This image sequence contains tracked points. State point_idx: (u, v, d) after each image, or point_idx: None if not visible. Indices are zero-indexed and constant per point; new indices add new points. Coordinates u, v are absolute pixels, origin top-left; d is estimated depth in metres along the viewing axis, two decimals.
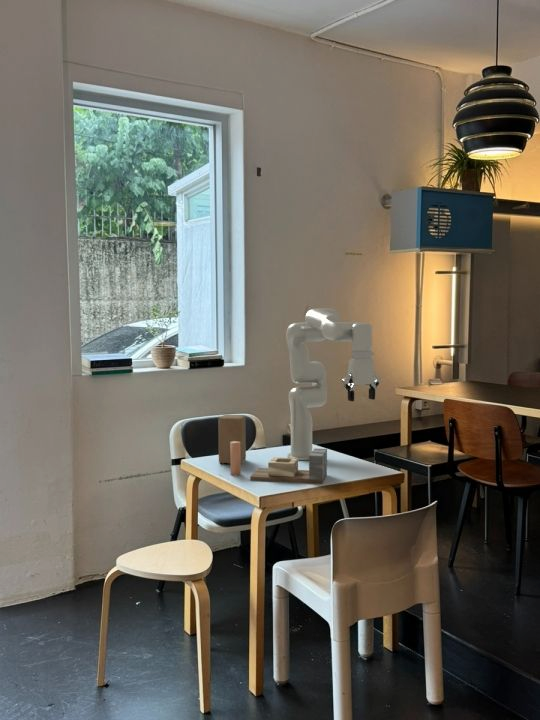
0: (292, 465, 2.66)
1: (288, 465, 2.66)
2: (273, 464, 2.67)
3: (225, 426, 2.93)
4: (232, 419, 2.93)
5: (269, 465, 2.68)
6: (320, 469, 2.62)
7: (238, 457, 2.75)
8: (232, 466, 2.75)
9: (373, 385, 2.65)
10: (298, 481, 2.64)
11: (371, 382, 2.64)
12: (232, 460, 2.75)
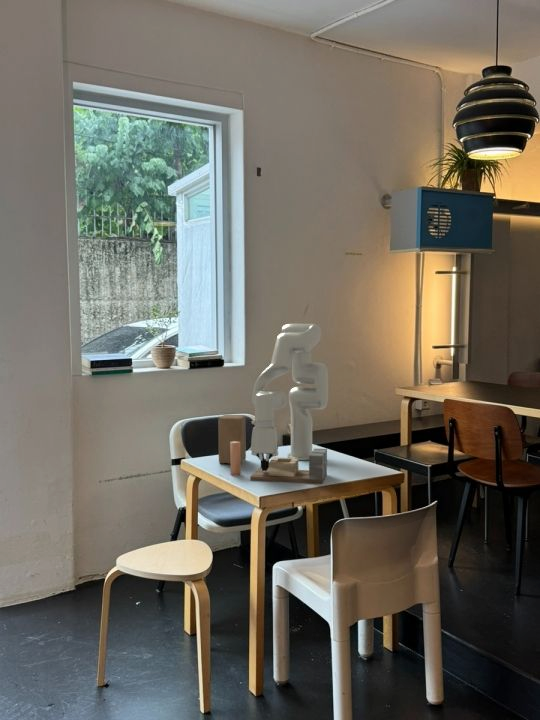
0: (292, 465, 2.66)
1: (288, 465, 2.66)
2: (273, 464, 2.67)
3: (225, 426, 2.93)
4: (232, 419, 2.93)
5: (269, 465, 2.68)
6: (320, 469, 2.62)
7: (238, 457, 2.75)
8: (232, 466, 2.75)
9: None
10: (298, 481, 2.64)
11: None
12: (232, 460, 2.75)
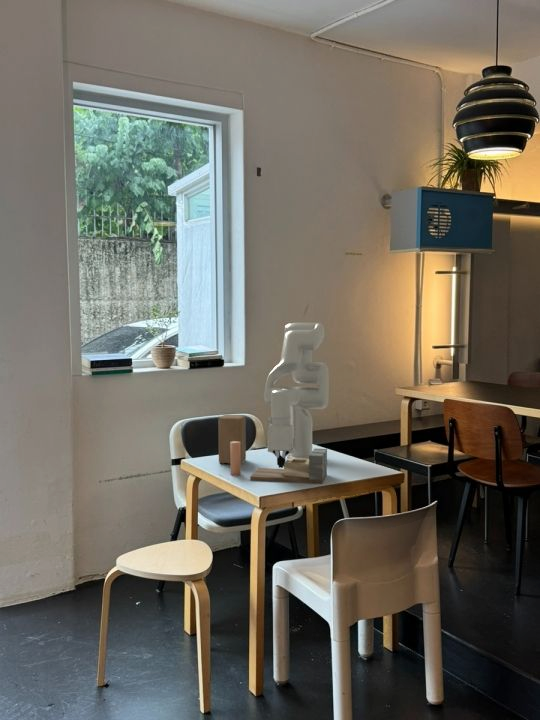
0: (308, 466, 2.65)
1: (304, 466, 2.65)
2: (289, 465, 2.66)
3: (225, 426, 2.93)
4: (232, 419, 2.93)
5: (285, 466, 2.66)
6: (320, 469, 2.62)
7: (238, 457, 2.75)
8: (232, 466, 2.75)
9: (278, 451, 2.74)
10: (298, 481, 2.64)
11: None
12: (232, 460, 2.75)
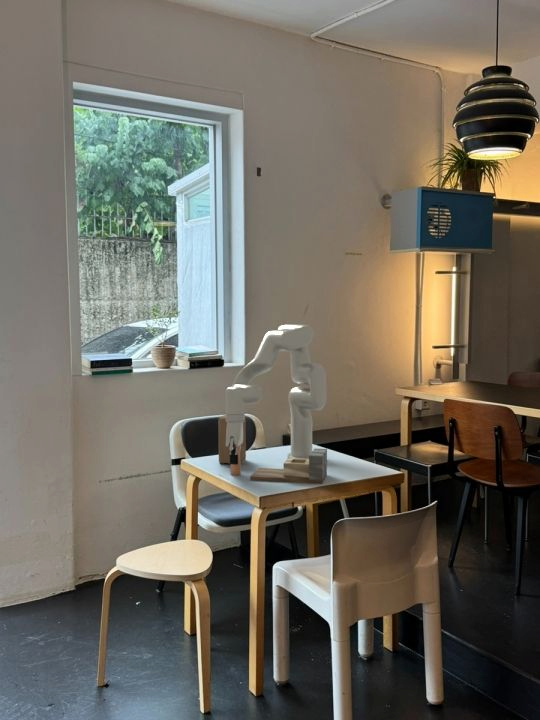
0: (307, 466, 2.65)
1: (303, 466, 2.65)
2: (288, 465, 2.66)
3: (225, 426, 2.93)
4: None
5: (284, 466, 2.67)
6: (320, 469, 2.62)
7: (238, 457, 2.75)
8: (232, 466, 2.75)
9: (240, 447, 2.79)
10: (298, 481, 2.64)
11: (242, 441, 2.79)
12: None
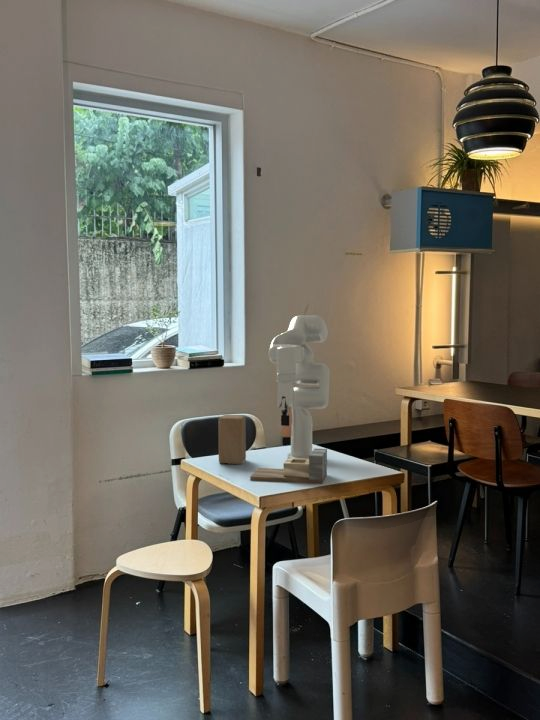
0: (307, 466, 2.65)
1: (303, 466, 2.65)
2: (288, 465, 2.66)
3: (225, 426, 2.93)
4: (232, 419, 2.93)
5: (284, 466, 2.67)
6: (320, 469, 2.62)
7: (289, 418, 2.69)
8: (283, 427, 2.69)
9: None
10: (298, 481, 2.64)
11: (293, 403, 2.72)
12: None
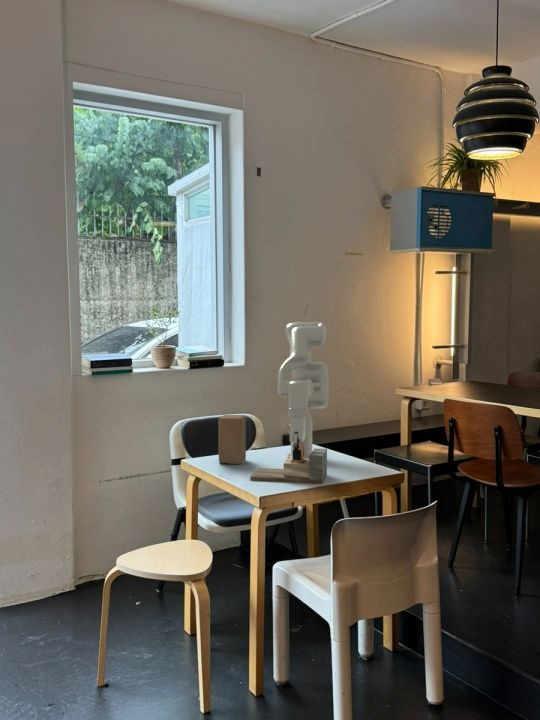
0: (307, 466, 2.65)
1: (303, 466, 2.65)
2: (288, 465, 2.66)
3: (225, 426, 2.93)
4: (232, 419, 2.93)
5: (284, 466, 2.67)
6: (320, 469, 2.62)
7: (301, 456, 2.69)
8: None
9: (303, 441, 2.73)
10: (298, 481, 2.64)
11: (304, 437, 2.72)
12: (295, 460, 2.69)
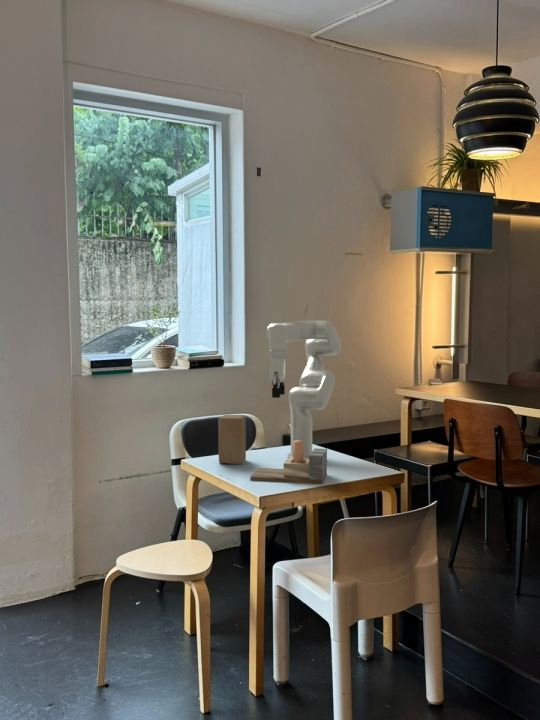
0: (307, 466, 2.65)
1: (303, 466, 2.65)
2: (288, 465, 2.66)
3: (225, 426, 2.93)
4: (232, 419, 2.93)
5: (284, 466, 2.67)
6: (320, 469, 2.62)
7: (301, 456, 2.69)
8: None
9: (283, 381, 2.88)
10: (298, 481, 2.64)
11: (284, 378, 2.86)
12: (295, 459, 2.69)
